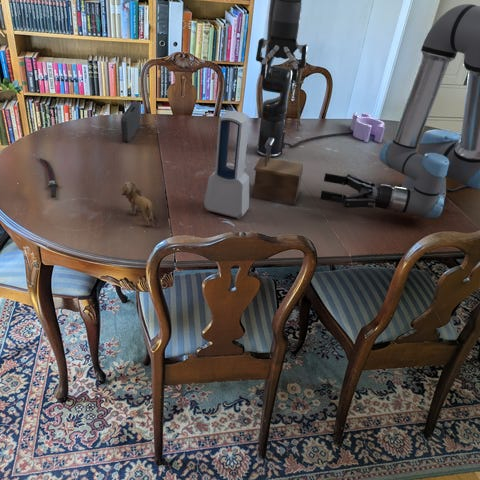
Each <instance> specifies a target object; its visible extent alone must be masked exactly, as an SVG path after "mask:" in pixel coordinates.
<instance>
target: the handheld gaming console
mask: <svg viewBox="0 0 480 480" xmlns="http://www.w3.org/2000/svg"><path fill="white" fill-rule="evenodd" d="M120 125H121V126H120V127H121V128H120V131H121V141H122V142H123V143H129V142H130V141H131V139H132V138H133V136H134V134H136V131H137V130H138V129H139V127H140V125H141V103H140V101H132V103H131V104H130V105H129V107H128V108H127V109H126V111H124V113H123V115H122V116H121V117H120Z"/></svg>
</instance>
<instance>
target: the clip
mask: <svg viewBox="0 0 480 480" xmlns="http://www.w3.org/2000/svg"><path fill="white" fill-rule="evenodd" d="M358 114H359V113H358V112H353V114H352V118H351V122H350V126H349V129H350V130H351V131H352V132H353V134H352V136H353V137H354V138H356V139H358V140H361V141H363V142H364V143H368V142H369V140H370V135H372V136H374V139H373V140H374V142H376V143H382V140H383V137H384V132H385V129H386V127H385V122H384V121H383V120H380V119H377V118H374V117H372V115H371V114H369V113H366V112H361V115H358Z"/></svg>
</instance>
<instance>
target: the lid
mask: <svg viewBox="0 0 480 480" xmlns="http://www.w3.org/2000/svg"><path fill="white" fill-rule="evenodd" d="M273 143H274V138H272V137H270V138H269V139H268V140H267V142H266V144H265V148H266V157H265V156H260V157H259V159H258V160H257V162H256V164H255V166H254V168H253V170H254V171H255V172H256V171H261V172H267V173H272V174H277V175H283V176H288V177H293V178H300V175H301V172H302V173H303V171H302V169H303V170H304V166H305V165H304V163H300V162H299V163H298V162H293V161H287V160H282V159H277V158H273V157H270V153H271V146H272V145H273Z"/></svg>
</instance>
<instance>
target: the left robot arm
mask: <svg viewBox="0 0 480 480" xmlns="http://www.w3.org/2000/svg"><path fill="white" fill-rule="evenodd" d="M302 4H303V0H270V3H269V8H268V9H269V10H268V20H267V31H266V32H267V33H266V39H265V38H264V37H262V38H260V39H259V40H258V43H257V50H256V54H255V55H256V56H255V61H256V62H258V63H260V65H261V67H260V76H261V79H260V84H261V85H260V87H261V90H263V91H264V92H267V93H274V94H275V93H276V94H279V96H277V97H274V98H269V99H266V100H264V101H263V102H262V105H261V114H260V123H259V131H258V138H257V139H258V140H257V143H256V153H257V154H258V155H259V156H261V157H266V148H265V144H266V142H267V140H268V139H269V138H270V137H272V138H274V143H273V145H272V146H271V153H270V158H277V157H279V156H281V155H282V154H283V150H284V149H285V147H286V146H288V147H289V148H296V147H297V146H298V145H301V144H302V143H305V142H309V141H313V140H317V139H322V138H329V137H335V136H336V137H337V136H345V135H353V132H354V131H347V132H337V133H330V134H322V135H318V136H313V137H309V138H305V139H302V140H299V141H298V142H296V143H294V144H291V143H290V142H285V136H286V130H284V128H285V122H286V120H285V119H286V117H287V116H286V115H287V114H286V109H287V105H288V102H289V97H290V96H289V95H290V90H291V85H292V82H294V81H296V79H297V75H298V72H299V71H298V69H300V68H302V69H304V68H305V67H306V65H307V58H308V57H307V55H308V48H309V47H308V46H309V45H308V44H299V43H298V38H299V30H300V24H301V19H302V6H303V5H302ZM264 49H265V53H264V57H263V52H264ZM297 50H298V52H299V54H301V56H300V62H298V59H297V57H296V55H295V52H296V51H297ZM275 58H276V59H282V60H289V62H290V63H291V66H293V67H294V68H293V71H292V70H291V69H290V68H289V67H287V66H280V65H274V61H275ZM285 116H286V117H285Z"/></svg>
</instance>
